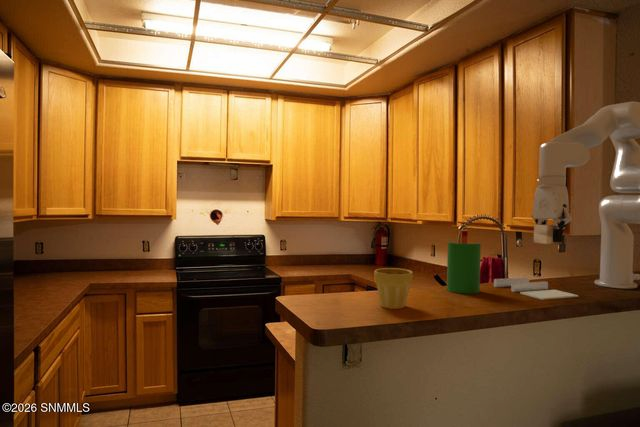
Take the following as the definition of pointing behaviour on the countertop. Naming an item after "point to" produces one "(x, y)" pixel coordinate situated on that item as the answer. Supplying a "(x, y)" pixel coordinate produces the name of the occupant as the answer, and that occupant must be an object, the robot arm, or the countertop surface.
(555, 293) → the pad
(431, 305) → the countertop surface
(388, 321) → the countertop surface
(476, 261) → the green cylinder
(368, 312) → the countertop surface
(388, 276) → the plant pot
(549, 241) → the plug block
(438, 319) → the countertop surface
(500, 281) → the housing channel
